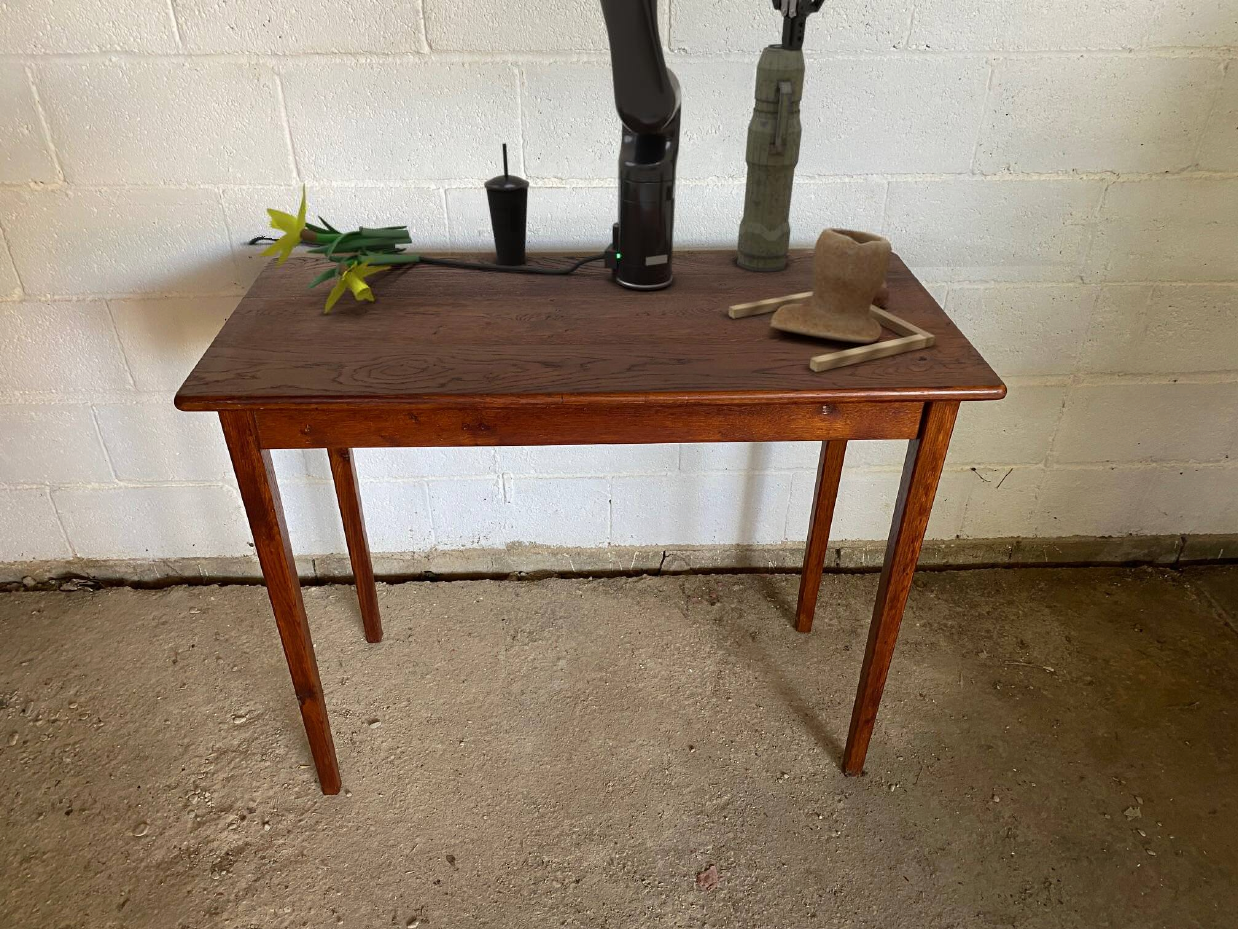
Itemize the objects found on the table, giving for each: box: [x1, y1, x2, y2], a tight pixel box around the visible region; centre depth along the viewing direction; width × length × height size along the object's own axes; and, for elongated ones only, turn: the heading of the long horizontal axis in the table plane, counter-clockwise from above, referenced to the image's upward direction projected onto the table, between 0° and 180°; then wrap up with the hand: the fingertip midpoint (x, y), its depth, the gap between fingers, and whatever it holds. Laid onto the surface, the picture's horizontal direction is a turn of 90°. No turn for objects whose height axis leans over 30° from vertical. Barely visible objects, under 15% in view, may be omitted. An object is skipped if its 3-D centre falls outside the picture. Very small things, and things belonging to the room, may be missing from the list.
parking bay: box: [728, 290, 935, 373], centre depth 124 cm, size 20×22×2 cm
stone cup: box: [770, 227, 893, 344], centre depth 119 cm, size 15×12×15 cm
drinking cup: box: [483, 142, 530, 266], centre depth 144 cm, size 8×8×20 cm
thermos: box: [736, 43, 806, 273], centre depth 140 cm, size 9×12×35 cm
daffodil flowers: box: [258, 182, 422, 314], centre depth 132 cm, size 17×15×35 cm
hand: (791, 50), depth 107 cm, fingers closed
